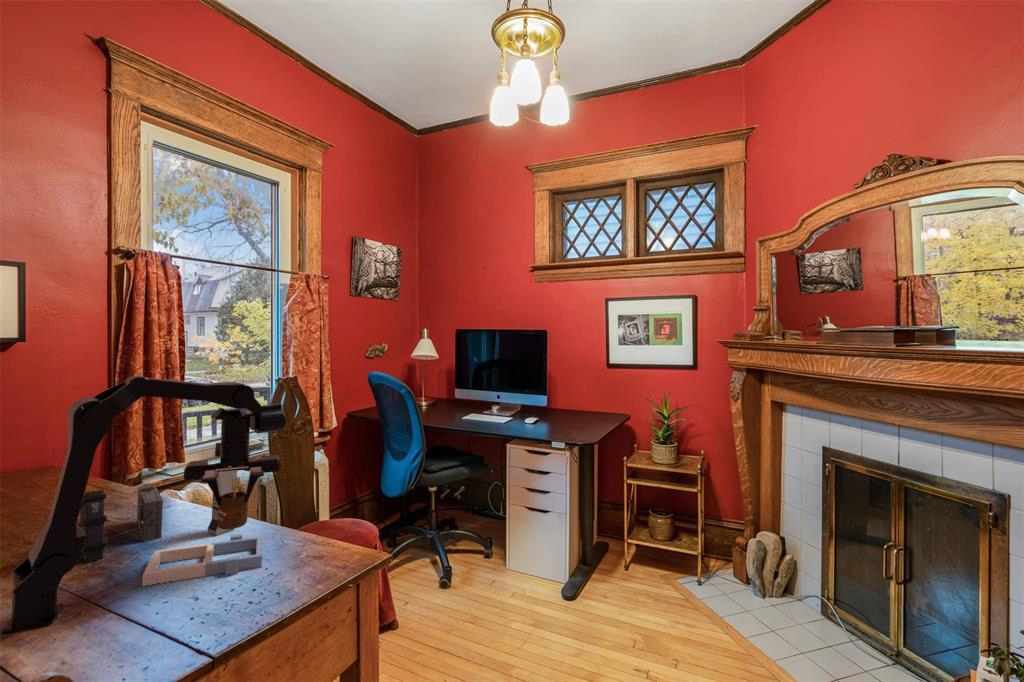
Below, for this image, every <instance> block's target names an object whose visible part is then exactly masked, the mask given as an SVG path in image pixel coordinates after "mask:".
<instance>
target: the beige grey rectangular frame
mask: <svg viewBox="0 0 1024 682" xmlns="http://www.w3.org/2000/svg"><path fill="white" fill-rule="evenodd" d="M263 536H264V535H261V536H260V535H259V536H254V537H253V536H252V537H246V538H245V537H244V538H243V533H239V534H238V533H237V534H232V535H230V540H225V541H224V540H223V541H217V542H209V543H203V544H202V543H201V544H195V545H188V546H181V547H179V546H178V547H173V548H166V549H160V550H155V551H153V554H152V556H151V558H150V560H149V562H148V564H147V566H146V567H145V570H144V572H143V573H142V587H147V586H146V585H148V586H152V584H154V585H158V584H157V583H160V584H164V583H163V582H166V583H170V582H169V581H172V582H178V581H183V579H184V580H189V578H190V579H195V578H200V577H208V576H214V575H219V574H218V573H221V574H224V575H226V576H229V575H228V574H232V575H235V574H234V573H238V574H239V571H243V570H242V569H245V570H249V569H250V568H251V569H255V568H256V567H257V568H262V562H263V561H262V560H263V541H264V539H263ZM249 549H252V550H255V552H256V553H255V554H251V555H243V556H233V557H232V556H231V557H227V558H225V559H224V558H223V559H217V560H213V559H212V558H214V556H217V554H218V555H223V554H224V553H225V554H230V552H232V553H236V551H238V552H243V551H242V550H245V551H250V550H249ZM225 554H224V555H225ZM203 556H205V557H203ZM197 557H198V558H203V561H202V562H197V563H192V564H186V565H177V566H172V567H165V568H159V567H160V564H163V563H162V562H164V563H170V562H176V561H184V560H183V559H185V560H190V558H191V559H197ZM157 568H159V569H157ZM251 569H250V570H251ZM238 570H239V571H238ZM224 572H226V573H224ZM213 574H214V575H213ZM177 580H178V581H177Z"/></svg>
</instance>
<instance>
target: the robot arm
mask: <svg viewBox="0 0 1024 682" xmlns="http://www.w3.org/2000/svg"><path fill="white" fill-rule="evenodd" d="M143 397H149V398H150V397H152V398H163V399H175V400H190V401H200V402H209V403H212V404H217V405H221V406H223V407H224V406H225V407H228V408H232V409H230V410H226V409H224V408H222V407H219V408H218V409H217V410H216V411H215V412H213V413H212V414H211V415H210V418H211V419H214V420H216V421H220V420H221V421H220V422H221V423H220V426H221V428H220V429H221V430H220V442H215V447H214V449H215V450H214V456H215V457H216V458H218V457H220V458H219V459H220V460H219V463H210V464H209V460H208V459H203V460H191V461H189V462H188V463H187V464H186V466H185V468H184V470H183V481H184V480H185V481H191V480H200V481H201V482H202V483H206V484H207V485H208V487H209V488H210V491H212V495H213V494H214V496H215V499H216V501H217V503H218V505H219V506H220V505H221V492H220V483H219V472H223V471H235V470H237V471H242V470H243V471H245V470H250V471H249V476H248V482H247V487H246V492H245V493H246V502H247V503H249V499H250V496H251V495H252V493H253V489H254V487H255V485H256V483H257V481H258V480H259V478H260V477H264V476H265V473H267V474H268V473H276V472H277V473H278V472H279V471H280V468H281V467H280V466H281V465H280V461H281V460H280V456H279V455H278V454H269V455H268V454H267V455H261V457H260V458H261V459H258V460H256V459H255V460H250V453H251V452H250V435H251V433H250V430H251V431H254V433H255V434H258V435H259V434H266V433H273V432H279V431H283V430H284V429H285V427H286V425H287V424H286V422H287V418H286V416H285V412H284V410H283V406H282V405H283V404H281V403H272V404H265V405H261V403H260V402H259V401H258V400H257V398H256V397H255V391H254V389H253V388H252V387H251V385H248V384H245V383H241V382H237V381H222V382H220V381H219V382H218V381H217V382H212V383H209V382H207V383H200V382H193V381H181V380H171V379H162V378H155V377H154V378H153V377H145V376H141V375H132V376H130V377H127V378H126V379H125V380H123V381H122V382H120V383H118V384H116V385H114V386H112V387H109V388H107V389H104V390H103V391H101V392H99V393H97V394H96V395H94V396H89V397H88V396H86V397H83V398H79V399H78V400H76V401H74V402H73V403H72V404H71V405H70V406H69V409H68V410H67V424H66V425H67V427H66V428H67V429H66V430H67V449H66V452H65V457H64V460H63V463H62V466H61V467H62V468H61V471H60V474H59V478H58V482H57V486H56V490H55V493H54V497H53V500H52V504H51V507H50V511H49V515H48V518H47V521H46V523H45V525H44V526H43V527H42V528H41V531H40V532H39V534H38V535H37V537H36V539H35V540H34V543H33V545H32V547H31V549H30V551H29V554H28V557H26V559H24V560H23V561H22V562H21V563H20V564H18V565H17V566H16V567H15V568H13V570H11V572H10V575H11V580H12V585H13V590H12V596H11V614H10V615H11V617H10V620H9V621H8V622H7V623H6V624H5V626H4V627H3V628H2V629H1V630H0V634H3V635H4V634H9V633H14V632H21V631H25V630H32V629H36V628H42V627H48V626H50V625H52V624H53V623H54V622H55V621H56V619H57V617H59V615H60V614H61V612H62V611H63V610H64V608H65V606H66V604H65V603H59V604H58V589H59V588H58V587H59V585H60V583H61V581H62V579H63V578H64V576H65V575H66V574H67V573H69V572H70V571H72V570H73V568H74V567H75V565H76V563H77V560H82V558H83V555H82V552H81V550H82V547H83V545H84V543H85V540H86V537H87V536H86V534H85V533H84V531H83V529H82V527H80V526H78V523H77V522H78V519H79V517H80V508H81V504H82V501H83V497H84V494H85V493H86V492H85V491H86V490H87V489H86V488H87V485H88V482H89V481H88V480H89V477H90V474H91V470H92V466H93V463H94V462H93V461H94V458H95V454H96V452H97V449H98V447H99V445H100V444H101V442H103V441H102V440H103V439H104V438H105V436H106V435H107V432H108V431H109V429H110V426H111V425H112V423H113V420H114V417H116V416H117V415H119V414H121V413H122V412H124V411H126V410H127V409H128V408H130V406H132V405H133V404H134V403H136V402H137V401H138V400H140V399H141V398H143ZM241 410H246V411H249V412H242V411H241ZM229 466H230V467H229Z"/></svg>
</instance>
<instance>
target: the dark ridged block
mask: <svg viewBox="0 0 1024 682" xmlns="http://www.w3.org/2000/svg"><path fill="white" fill-rule="evenodd" d="M104 492H105V491H104V489H99V490H91V491H86V492H85V493H84V497H83V501H82V504H81V508H80V512H79V518H80V520H79V523H77V527H82V529H83V531H84V533H85V534H86V536H87V537H86V540H85V543H84V545H83V547H82V550H81V556H82V558H83V560H84V562H85V563H90V561H91V562H94V561H93V560H95V561H98V560H97V559H99V560H103V558H104V549H106V548H107V542H105V522H106V521H107V516H105V499H106V498H107V494H106V493H104Z"/></svg>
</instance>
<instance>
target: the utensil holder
mask: <svg viewBox="0 0 1024 682" xmlns="http://www.w3.org/2000/svg"><path fill="white" fill-rule="evenodd" d="M236 477H237V478H236ZM236 477H235V479H234V476H233V478H232V476H231V478H232V485H231V489H230V490H233V491H234V492H231V491H230V493H226V494H224V495H222V496H221V505H220V506H219V508H218V527H219V528H221V529H234V530H235V529H239V528H241V527H244V526H245V525H246V523H247V522H248V512H249V511H248V509H249V508H248V507H249V506H248V502H246V492H244V491H239V489H240V486H241V485H240V484H241V483H240V479H241V477H240V476H238V475H237V476H236ZM233 479H234V486H233ZM236 480H237V486H236ZM228 481H229V488H230V481H231V480H228Z"/></svg>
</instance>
